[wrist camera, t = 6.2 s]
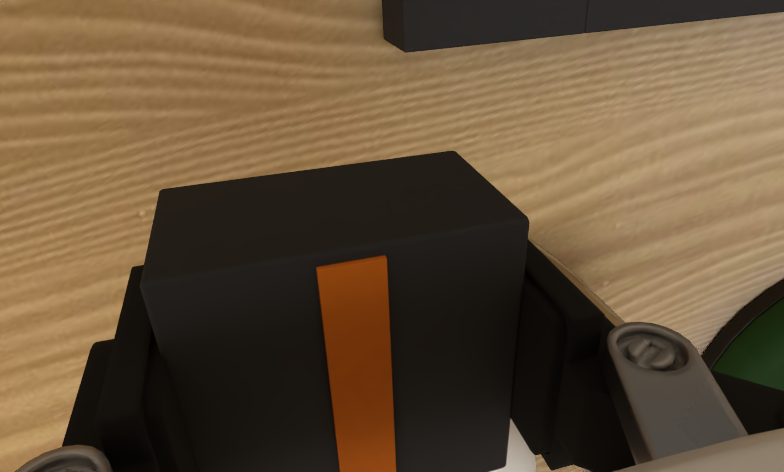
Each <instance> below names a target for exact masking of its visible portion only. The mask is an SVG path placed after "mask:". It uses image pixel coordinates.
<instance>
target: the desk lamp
mask: <svg viewBox="0 0 784 472" xmlns="http://www.w3.org/2000/svg"><path fill="white" fill-rule="evenodd" d="M702 359H703V361H704V362H705V364H706V366H707V367H708V369H709V370H712V371H716V372H719V373H723V374H726V375H730V376H733V377H737V378H740V379H744V380H747V381H751V382H754V383H758V384H761V385H765V386H768V387H772V388H775V389H779V390H782V391H784V281H782V282H781V283H779V284H777V285H776V286H774V287H772V288H771V289H769V290H768V291H766V292H765V293H764V294H762V295H761V296H760V297H759V298H757V299H756V300H755V301H753V302H752V303H751V304H749V305H748V306H747V307H746V308H744V309H743V310H742V311H741V312H740V313H739V314H738V315H737V316H736V317H735V318H734V319H733V320H732V321H731V322H730V323H729V324H728V325H727V326H726V327H725V328H724V329H723V330H722V331H721V332H720V333H719V334H718V336H717V337H716V338H715V340H714V341H713V342H712V344H711V345H710V346H709V348H708V349H707V350H706V352H705V353H704V354H703V356H702Z"/></svg>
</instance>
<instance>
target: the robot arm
mask: <svg viewBox="0 0 784 472" xmlns="http://www.w3.org/2000/svg"><path fill="white" fill-rule="evenodd" d="M143 268H144V265H141V266H134V267H132V269H131V273H130V277H129V281H128V285H127V289H126V293H125V297H124V302H123V306H122V310H121V314H120V318H119V322H118V326H117V330H116V334H115V338H114V339H111V340H106V341H100V342H96V343H94V344H93V346H92V348H91V350H90V353H89V357H88V360H87V363H86V367H85V370H84V373H83V377H82V380H81V384H80V387H79V390H78V394H77V397H76V401H75V404H74V407H73V411H72V414H71V417H70V421H69V424H68V428H67V431H66V434H65V438H64V441H63V444H62V447H60V448H57V449H54V450H51V451H48V452H46V453H43V454H41V455H39V456H38V457H36V458H34V459H32V460H30V461H28V462H27V463H25V464H24V465H23V466H21V467H20V468H19V469H18V470H16V471H15V472H199V471H198V467H197V464H196V461H195V457H194V454H193V450H192V447H191V444H190V440H189V437H188V434H187V430H186V427H185V424H184V420H183V417H182V413H181V410H180V407H179V403H178V400H177V397H176V393H175V390H174V387H173V383H172V380H171V377H170V373H169V370H168V366H167V363H166V360H165V358H162V357H161V355H160V352H159V348H158V345H157V342H156V339H155V335H154V332H153V329H152V325H151V322H150V319H149V315H148V312H147V309H146V305H145V302H144V299H143V295H142V292H141V289H140V282H141V277H142V272H143ZM511 419H512V421H513V423H514V424H515V426H516V428H517V429H518V431H519V433H520V434H521V436H522V438H523V439H524V441H525V443H526V444H527V446H528V447H529V449H530V451H531V452H532V453H533V454H534V455H539V454H541V455H542V457H543V458H544V460H545V462H546V463H547V465H548V466H549V468H550V470H551V471H552V470H555V469H559V468H563V467H566V466H570V465H573V464H574V465H576V466H579V467H581V468H583V472H784V391H782V390H779V389H775V388H772V387H768V386H765V385H761V384H758V383H754V382H751V381H747V380H744V379H740V378H737V377H733V376H730V375H726V374H723V373H719V372H716V371H712V370H709V369H708V367H707V366H706V364H705V362H704V361H703V359H702V357H701V356H700V354H699V352H698V351H697V349H696V348H695V347H694V346H693V344H692V343H691V342H690V341H689V340H688V339H686V338H685V337H684V336H682V335H681V334H679V333H678V332H675V331H673V330H671V329H669V328H667V327H664V326H660V325H657V324H653V323H645V322H631V323H625V324H622V325H619V326H616V327H615V326H614V325H613V324H612V323H611V322H610V321H609V320H608V319H607V318H606V317H605V314H604V313H603V312H602V311H601V310H600V309H599V308H598V307H597V306H596V305H595V304H594V303H593V302H592V301H591V300H590V299H589V298H588V297H587V296H586V295H585V294H583V293H582V292H581V291H580V290H579V289H578V288H577V287H576V286H575V285H574V284H573V283H572V282H571V281H570V280H569V279H568V278H567V277H566V276H565V275H564V274H563V273H562V272H561V271H560V270H559V269H558V268H557V267H556V266H555V265H554V264H553V263H552V262H551V261H550V260H549V259H548V258H547V257H546V256H545V255H544V254H543V253H542V252H541V251H540V250H539V249H538V248H537V247H536V246H535V245H534V244H533V243H532V242H531V241H530V240H529V239H528V241H527V252H526V262H525V273H524V283H523V294H522V304H521V314H520V325H519V335H518V346H517V356H516V367H515V377H514V388H513V398H512V408H511Z"/></svg>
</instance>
